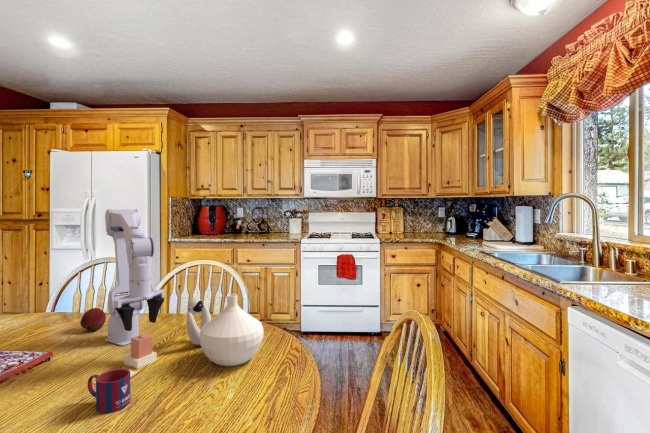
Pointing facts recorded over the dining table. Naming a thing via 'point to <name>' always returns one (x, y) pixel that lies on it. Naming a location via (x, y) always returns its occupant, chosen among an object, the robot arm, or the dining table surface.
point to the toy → (192, 328)
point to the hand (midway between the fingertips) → (140, 326)
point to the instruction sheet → (130, 374)
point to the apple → (93, 319)
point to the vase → (231, 335)
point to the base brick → (139, 360)
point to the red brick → (141, 345)
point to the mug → (111, 390)
